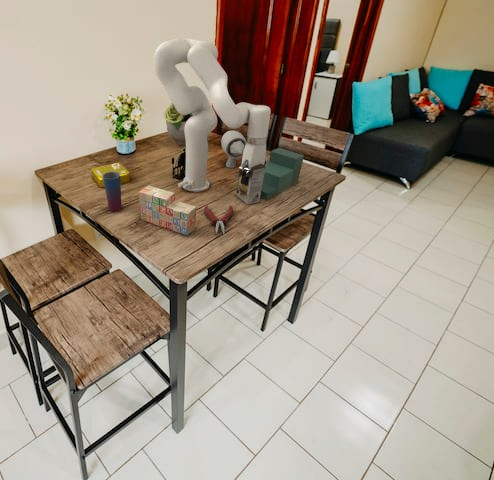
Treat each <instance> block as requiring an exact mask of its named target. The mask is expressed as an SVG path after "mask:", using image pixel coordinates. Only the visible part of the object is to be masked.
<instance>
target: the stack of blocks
mask: <svg viewBox="0 0 494 480" xmlns="http://www.w3.org/2000/svg"><path fill="white" fill-rule="evenodd" d="M138 203H139V214H140V220H142V221H144V222H147V223H150V224H153V225H156V226H158V227H161V228H164V229H167V230H170V231H173V232H176V233H178V234H181V235H184V236H188V235H190V234H191V233H192V232H193V231H194V230H195V229H196V219H197V217H196V215H197V206H195V205H191V204H189V203H186V202H182V201H179V200H176V193H175V192H173V191H170V190H169V191H168V190H165V189H162V188H158V187H155V186H152V185H146V186H145V187H144V188H142V189H140V190H139V191H138Z"/></svg>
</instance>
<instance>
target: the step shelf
mask: <svg viewBox="0 0 494 480" xmlns="http://www.w3.org/2000/svg"><path fill="white" fill-rule="evenodd" d="M304 157H305V155H304V154H302V153H299V152H294V151H291V150H287V149H284V148H281V147H277V148H275V149H272V150H271V151H270V154H269V159H268V161H266V164H265V166H266V168H265V173H264V179H263V184H262V189H261V195H260V199H261V198H262V199H264V200H266V201H267V200H269V199H271V198H273V197H274V196H276V195H278V194H280V193H281V192H283V191H284V190H286V189H289V188H290V187H292V186H293V185H296V184H297V183H299V180H300V175H301V172H302V171H301V170H302V167H303V163H304Z"/></svg>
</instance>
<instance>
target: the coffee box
mask: <svg viewBox="0 0 494 480" xmlns="http://www.w3.org/2000/svg"><path fill="white" fill-rule="evenodd" d="M241 164H242V159H241V160H240V162H239V167H240V166H241ZM246 168H248V165H247V166H246ZM265 168H266V166H264V165H263V164H259V165H256V166H254V167H252V168H251V170H250V172H249V175H248V176H249V181H248V185H247V186H246V185H243V184H241V177H242V175H241V173H240V170H239V169H238V170H239V171H238V176H237V185H236V192H235V194H236V197H238V198H239V200H241V201H243V202H244V203H245V204H246V205H251V204H256V203H260V200H261V197H260V195H261V189H262V184H263V179H264V173H265ZM248 169H249V168H248ZM247 171H248V170H246V171H245V172H246V173H247Z"/></svg>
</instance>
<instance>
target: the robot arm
mask: <svg viewBox="0 0 494 480" xmlns="http://www.w3.org/2000/svg"><path fill="white" fill-rule="evenodd" d="M218 57H219V51H218V48H217V46H216V44H214V42H212V41H208V40H200V39H192V38H185V37H181V38H175V39H169V40H165V41H163V42H161V43H160V44H159V45H158V46H157V47H156V48H155V51H154V54H153V60H152V65H153V70H154V72H155V75H156V76H157V78H158V80H159V82H160V83H161V85H162V86H163V88H164V89H165V92H166V94H167V96H168V97H169V100H170V101H171V103H173V105H174V106H175V108H176V110H177V111H178V113H180V114H181V115H187V114H190V113H192V115H193V116H192V117H190V118H189V119H188V120H187V122H186V124H185V127H184V133H185V139H186V145H185V172H184V173H185V174H184V175H185V177H183V180H182V181H181V182H179V183H177V187H178V188H183V189H184V190H185V191H188V192H193V193H199V192H204V191H206V190H208V189H209V188H210V182H209V181H208V180H207V177H208V176H207V173H208V159H209V158H208V157H209V141H208V135H209V134H210V133H212V132H213V131H214V130H215V129H216V127H217V126H218V117H219V118H220V120H221V121H222V122H223V124H224V125H225V126H226V127H228V128H229V129H231V130H232V129H233V130H235V129H239V128H241V127H242V126H243V125H246V124H248V125H247V133H246V145H245V148H244V152H243V157H241V160H242V164H241V166H240V165H239V167H238V170H240V173H241V175H242V177H241V184H243V185H246V186H247V185H248V181H249V176H248V175H249V172H250V170H251V168H252V167H254V166H256V165H259V164H263V165H264V166H265V164H266V163H267V160H268V158H269V156H268V155H267V142H268V136H269V135H268V133H269V127H270V121H271V111H272V110H271V108H270V107H269V106H267V105H265V104H252V103H249V102H243V101H242V102H238V103H237V104H235V102H234V100H233V99H232V97H231V96H230V93H229V90H228V74H227V73H226V71H225V70H224V68H223V67H222V66H221V64H220V63H219V61H218V60H217V59H218ZM183 63H185V64H189V66H190V67H191V68H192V70H193V71H194V72H195V74H196V75H197V77H198V78H199V80H200V82H202V84H203V85H204V87H205V88H206V90H207V91H208V95H209V99H210V101H209V99H208V97H207V95H206V93H205V92H204V90H203V89H202V88H201V87H199V86H196V85H191V86H189V85H188V83H187V81H186V80H185V77H184V76H183V74H182V73H181V72H180V71H179V70H178V68H177V67H176V66H177V65H179V64H183ZM210 102H211V103H210ZM217 116H218V117H217ZM247 165H248V168H249V169H248V168H246V166H247ZM246 170H248V171H247V173H246V172H245V171H246Z"/></svg>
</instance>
